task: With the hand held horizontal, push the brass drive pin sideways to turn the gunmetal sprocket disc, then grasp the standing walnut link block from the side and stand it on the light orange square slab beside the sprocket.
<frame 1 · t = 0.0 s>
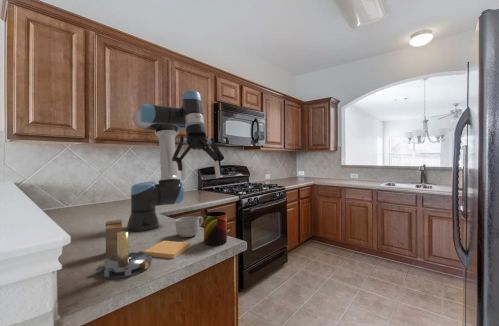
hand: (201, 178, 88), 28 cm above the counter, tool tilted 20°, fingers open, 13 cm apart
sprocket: (126, 247, 75), point 7 cm above the counter, hinge at 0.0°
mug: (214, 241, 101), on the counter
light orange square slab: (168, 250, 90), on the counter
teacup: (190, 235, 110), on the counter
link block: (114, 253, 87), on the counter
sprocket plinth: (126, 267, 75), on the counter
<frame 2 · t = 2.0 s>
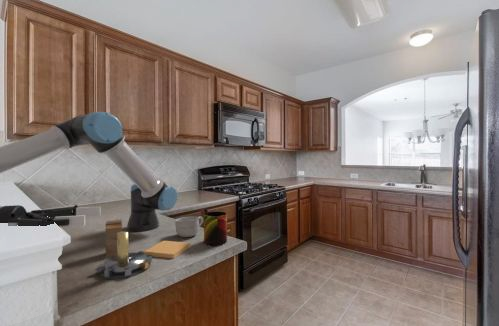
hand: (93, 215, 69), 18 cm above the counter, tool horizontal, fingers open, 13 cm apart
nothing on the counter moved.
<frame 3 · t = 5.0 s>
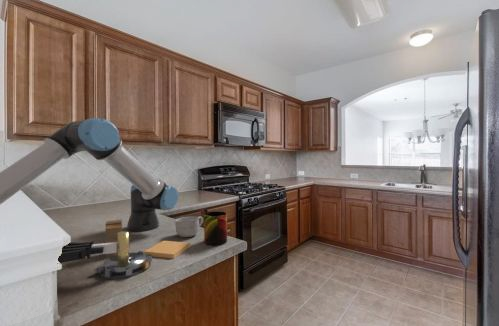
hand: (116, 247, 71), 8 cm above the counter, tool horizontal, fingers closed
sprocket: (126, 247, 75), point 7 cm above the counter, hinge at 1.8°, touching gripper
everything else where it was.
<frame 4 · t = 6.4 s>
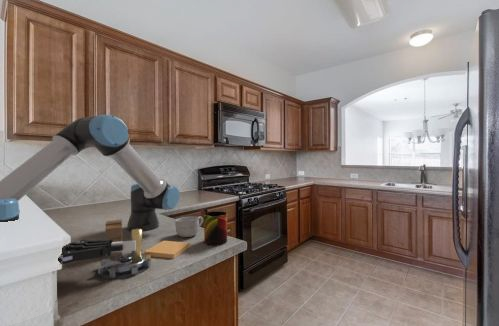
hand: (135, 245, 72), 8 cm above the counter, tool horizontal, fingers closed
sprocket: (126, 247, 75), point 7 cm above the counter, hinge at 58.3°, touching gripper
everything else where it was.
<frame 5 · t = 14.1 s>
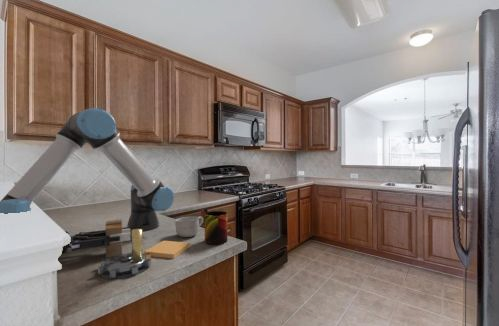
hand: (130, 234, 90), 7 cm above the counter, tool horizontal, fingers closed on link block, 5 cm apart
sprocket: (126, 247, 75), point 7 cm above the counter, hinge at 59.1°
link block: (114, 253, 87), on the counter, touching gripper
when the fingers open (10 cm above the counter, at t = 18.7 s): link block drops 2 cm, resting on light orange square slab.
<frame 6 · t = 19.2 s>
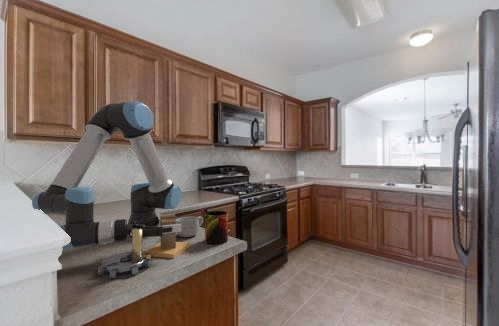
hand: (178, 223, 92), 10 cm above the counter, tool horizontal, fingers open, 11 cm apart
link block: (168, 246, 90), point 2 cm above the counter, touching light orange square slab
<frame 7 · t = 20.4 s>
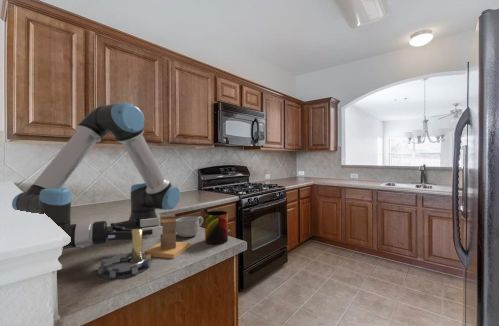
hand: (160, 225, 88), 10 cm above the counter, tool horizontal, fingers open, 13 cm apart
sprocket: (126, 247, 75), point 7 cm above the counter, hinge at 59.0°, touching gripper
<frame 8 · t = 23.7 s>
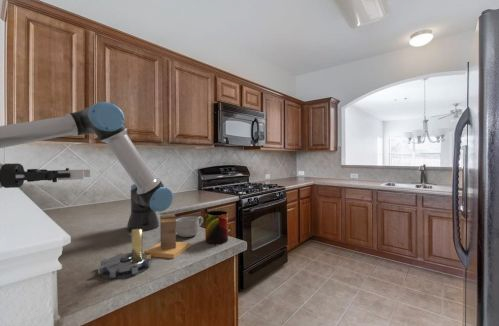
hand: (87, 173, 81), 30 cm above the counter, tool horizontal, fingers open, 13 cm apart
sprocket: (126, 247, 75), point 7 cm above the counter, hinge at 58.9°
at the end: sprocket at +59° (first picture: +0°); link block inside the target area on the light orange square slab (0.1 cm from its centre), point 1.5 cm above the light orange square slab's base; link block tilted 0° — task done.
